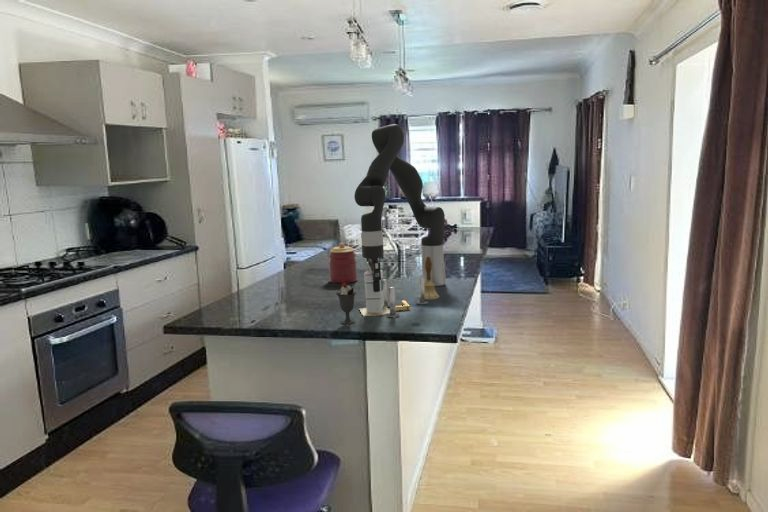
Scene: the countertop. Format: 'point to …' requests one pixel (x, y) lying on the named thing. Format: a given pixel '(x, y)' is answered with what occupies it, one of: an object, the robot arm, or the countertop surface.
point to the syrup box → (374, 294)
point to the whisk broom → (429, 282)
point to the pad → (364, 313)
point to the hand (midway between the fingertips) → (374, 289)
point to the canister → (342, 264)
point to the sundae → (346, 301)
